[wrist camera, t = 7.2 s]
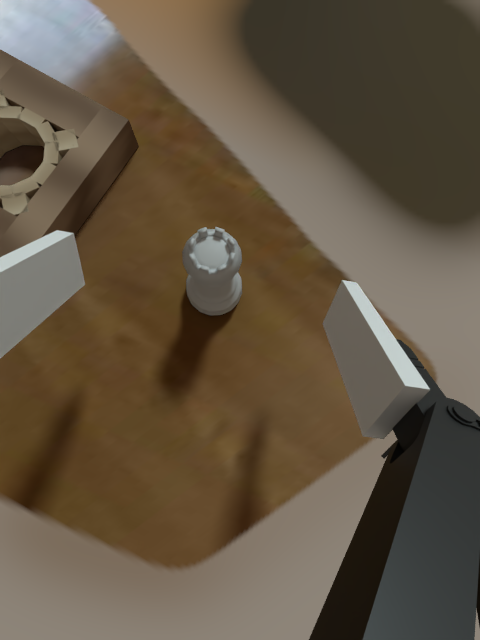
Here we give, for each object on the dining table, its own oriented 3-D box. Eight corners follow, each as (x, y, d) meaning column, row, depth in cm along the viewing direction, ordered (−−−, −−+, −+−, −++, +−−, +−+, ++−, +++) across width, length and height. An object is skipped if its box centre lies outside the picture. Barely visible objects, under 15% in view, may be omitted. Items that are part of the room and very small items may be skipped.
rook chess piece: (251, 281, 21) (270, 236, 13) (224, 327, 21) (227, 308, 13) (205, 254, 21) (197, 193, 13) (176, 298, 21) (150, 262, 13)
